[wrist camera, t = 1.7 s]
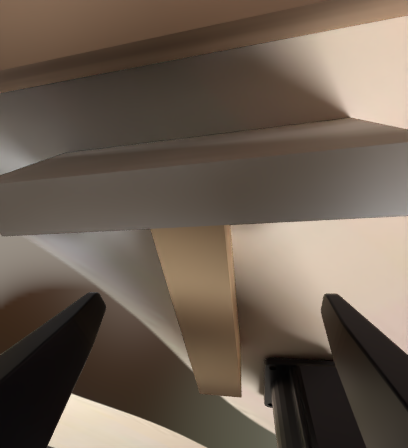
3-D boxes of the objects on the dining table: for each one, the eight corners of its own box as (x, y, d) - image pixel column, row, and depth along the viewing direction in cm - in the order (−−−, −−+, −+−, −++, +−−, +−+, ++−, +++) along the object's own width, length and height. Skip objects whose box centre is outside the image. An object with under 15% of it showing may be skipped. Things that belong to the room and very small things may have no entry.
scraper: (307, 348, 14) (330, 428, 11) (148, 340, 16) (124, 407, 13) (349, 117, 7) (447, 137, 4) (65, 152, 9) (-33, 186, 6)
